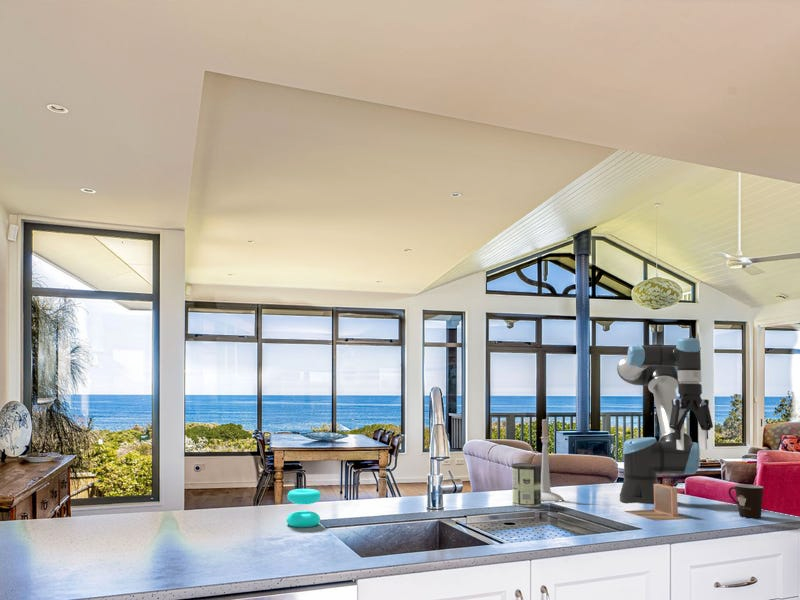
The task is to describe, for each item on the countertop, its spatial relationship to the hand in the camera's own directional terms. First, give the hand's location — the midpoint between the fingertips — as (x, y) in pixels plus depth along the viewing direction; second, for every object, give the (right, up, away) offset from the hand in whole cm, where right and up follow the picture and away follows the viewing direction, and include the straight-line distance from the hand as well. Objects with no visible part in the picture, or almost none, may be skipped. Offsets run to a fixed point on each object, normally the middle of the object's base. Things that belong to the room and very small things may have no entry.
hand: (692, 449), depth 235 cm
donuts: (-129, -17, -28) cm, 133 cm away
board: (-15, -20, -9) cm, 27 cm away
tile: (-11, -20, -6) cm, 24 cm away
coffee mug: (+17, -22, -4) cm, 28 cm away
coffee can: (-54, -22, +11) cm, 60 cm away
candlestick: (-45, -24, +23) cm, 56 cm away
